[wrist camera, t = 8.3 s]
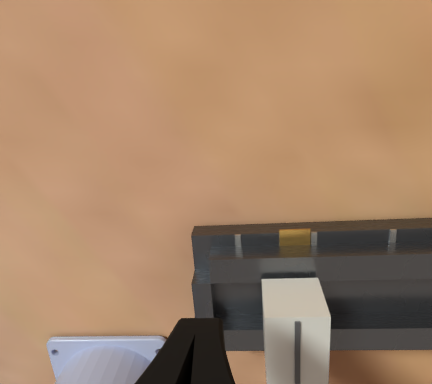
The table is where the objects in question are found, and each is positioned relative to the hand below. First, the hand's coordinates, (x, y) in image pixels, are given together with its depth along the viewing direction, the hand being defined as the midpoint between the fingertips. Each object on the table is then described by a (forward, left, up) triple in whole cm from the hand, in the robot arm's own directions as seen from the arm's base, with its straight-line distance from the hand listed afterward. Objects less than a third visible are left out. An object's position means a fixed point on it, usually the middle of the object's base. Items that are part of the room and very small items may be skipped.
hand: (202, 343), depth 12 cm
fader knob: (-4, -3, -8) cm, 10 cm away
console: (-4, -9, -10) cm, 14 cm away
